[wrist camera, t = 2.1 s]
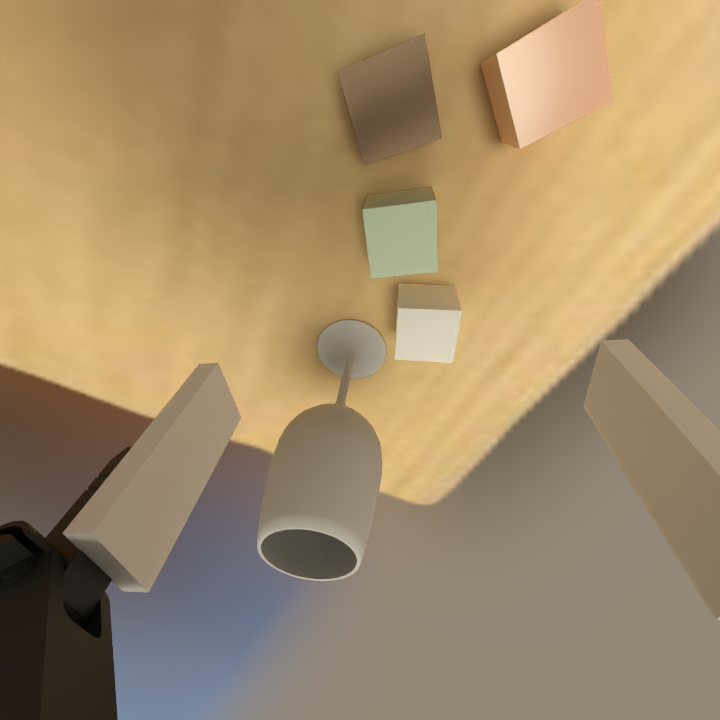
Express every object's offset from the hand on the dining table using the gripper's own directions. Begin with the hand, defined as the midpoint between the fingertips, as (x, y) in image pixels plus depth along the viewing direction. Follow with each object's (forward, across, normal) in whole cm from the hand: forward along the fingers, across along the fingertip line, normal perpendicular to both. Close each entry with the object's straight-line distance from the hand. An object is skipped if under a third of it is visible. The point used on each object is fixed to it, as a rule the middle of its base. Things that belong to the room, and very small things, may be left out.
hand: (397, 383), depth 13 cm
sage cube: (+21, 0, 0) cm, 21 cm away
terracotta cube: (+21, +9, +8) cm, 24 cm away
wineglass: (+21, -6, -12) cm, 25 cm away
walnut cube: (+21, 0, +8) cm, 22 cm away
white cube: (+21, +2, -8) cm, 22 cm away
